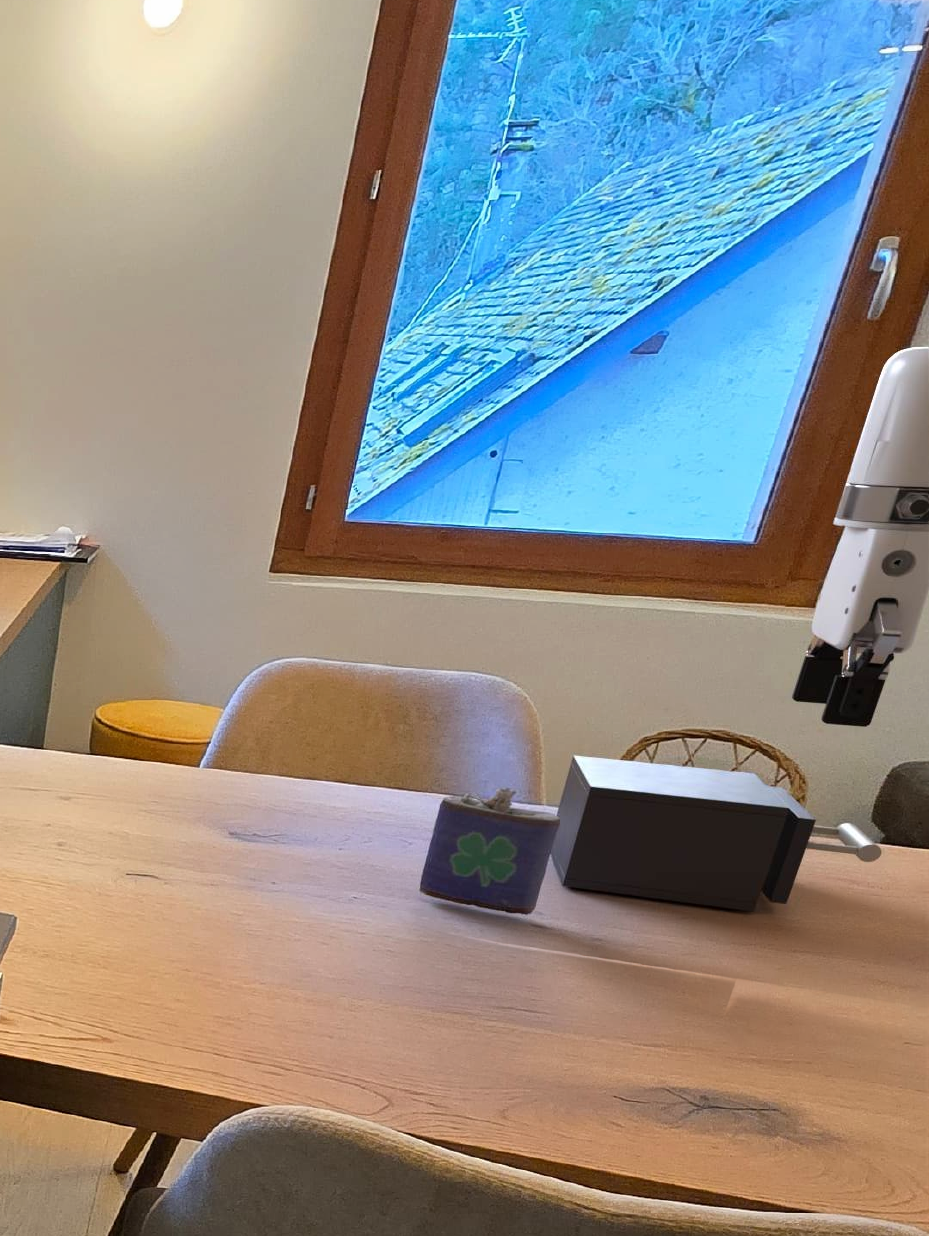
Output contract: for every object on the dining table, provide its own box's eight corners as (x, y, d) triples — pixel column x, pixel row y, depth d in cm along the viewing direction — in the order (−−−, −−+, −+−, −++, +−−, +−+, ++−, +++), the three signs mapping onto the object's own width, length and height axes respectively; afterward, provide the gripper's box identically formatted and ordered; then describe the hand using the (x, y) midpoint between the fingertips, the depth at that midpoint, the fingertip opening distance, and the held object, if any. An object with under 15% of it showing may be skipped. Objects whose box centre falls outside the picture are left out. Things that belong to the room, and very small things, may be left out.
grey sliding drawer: (832, 875, 128) (861, 795, 125) (869, 915, 119) (901, 829, 116) (589, 845, 136) (611, 769, 133) (605, 880, 126) (630, 799, 123)
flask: (535, 908, 122) (569, 794, 117) (530, 919, 120) (564, 803, 115) (421, 884, 127) (448, 774, 122) (414, 894, 125) (441, 783, 120)
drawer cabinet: (723, 870, 132) (755, 773, 128) (754, 911, 122) (790, 808, 118) (547, 848, 138) (573, 755, 134) (562, 886, 128) (590, 786, 124)
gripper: (995, 519, 105) (915, 738, 111) (919, 502, 119) (853, 698, 126) (871, 515, 108) (800, 729, 114) (812, 499, 122) (752, 691, 129)
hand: (828, 712), depth 120 cm, fingers open, 9 cm apart
